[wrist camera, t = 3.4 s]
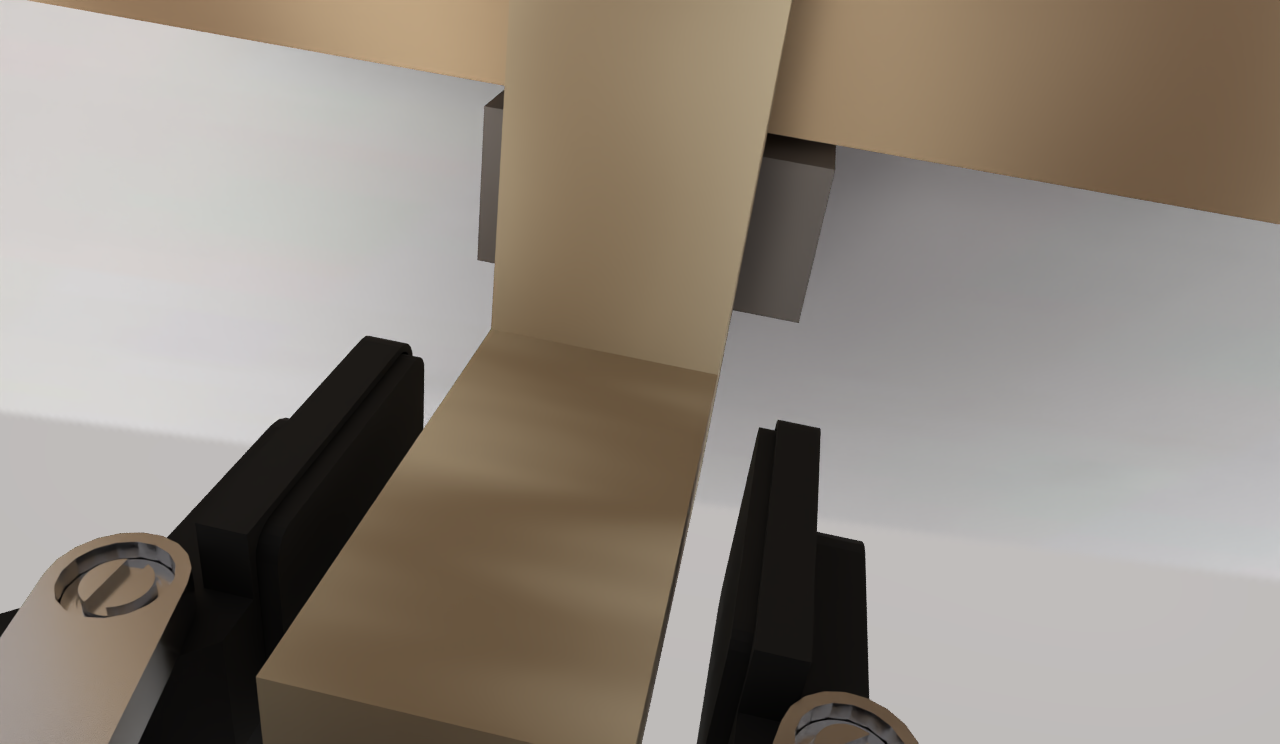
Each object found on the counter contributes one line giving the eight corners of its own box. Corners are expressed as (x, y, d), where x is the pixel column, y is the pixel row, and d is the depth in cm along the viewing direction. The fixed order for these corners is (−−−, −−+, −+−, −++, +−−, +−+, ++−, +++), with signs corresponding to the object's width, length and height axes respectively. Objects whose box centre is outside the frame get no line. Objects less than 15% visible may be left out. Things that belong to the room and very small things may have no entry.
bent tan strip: (825, -160, 11) (794, -109, 4) (700, 471, 16) (590, 978, 9) (568, -199, 11) (160, -207, 5) (519, 433, 16) (279, 897, 9)
